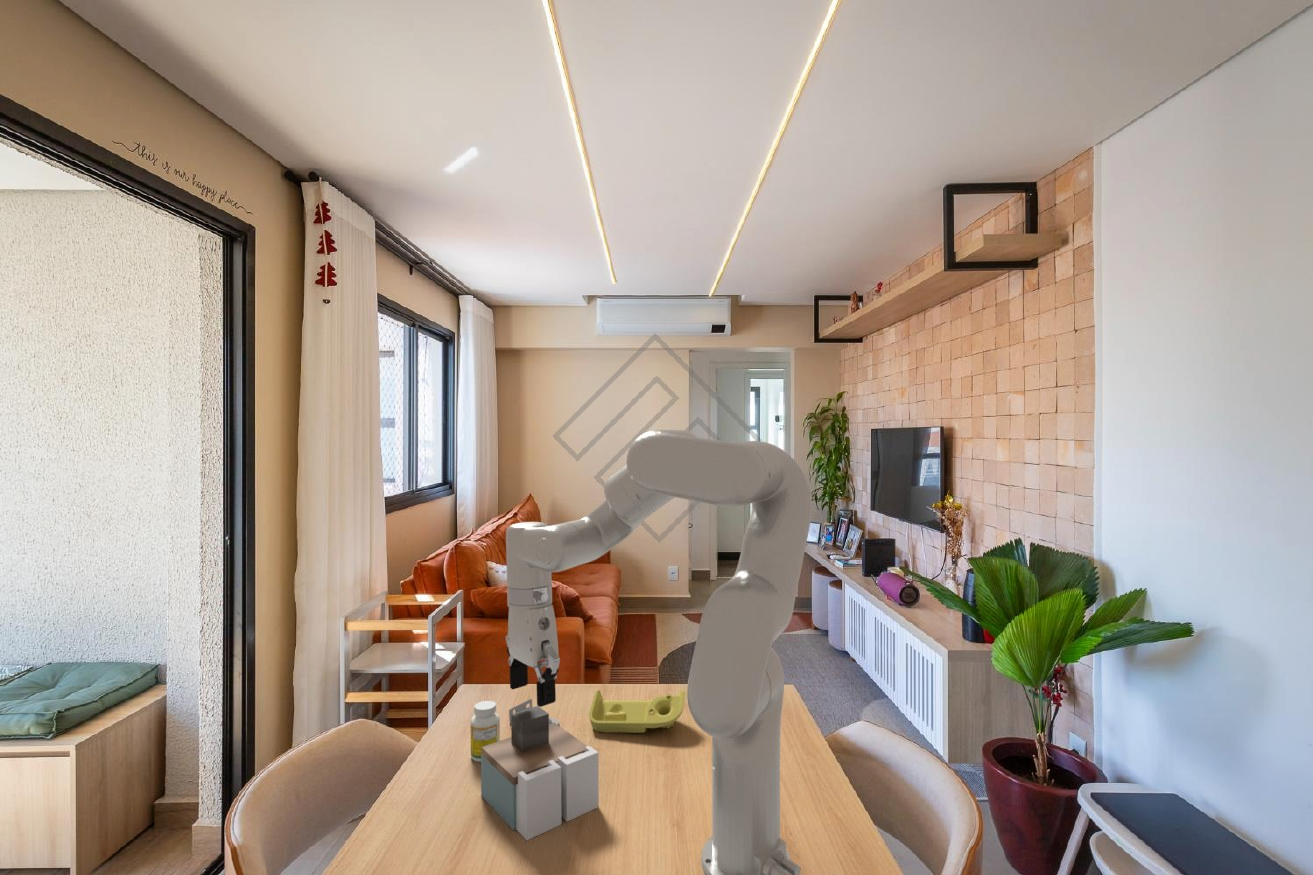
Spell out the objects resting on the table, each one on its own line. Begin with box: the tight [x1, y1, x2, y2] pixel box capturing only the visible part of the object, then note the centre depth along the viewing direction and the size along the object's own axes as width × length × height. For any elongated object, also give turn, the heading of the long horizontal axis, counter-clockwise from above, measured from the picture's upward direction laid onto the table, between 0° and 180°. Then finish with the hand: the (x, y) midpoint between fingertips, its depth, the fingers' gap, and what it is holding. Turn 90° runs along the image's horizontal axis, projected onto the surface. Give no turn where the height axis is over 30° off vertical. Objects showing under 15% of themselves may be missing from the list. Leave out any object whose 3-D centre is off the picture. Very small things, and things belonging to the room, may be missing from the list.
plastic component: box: [588, 689, 687, 734], centre depth 129 cm, size 20×7×10 cm
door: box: [482, 705, 588, 785], centre depth 103 cm, size 13×14×6 cm
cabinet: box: [480, 745, 600, 841], centre depth 102 cm, size 15×14×9 cm
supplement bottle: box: [470, 700, 501, 763], centre depth 116 cm, size 5×5×10 cm
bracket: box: [508, 698, 560, 726], centre depth 129 cm, size 7×10×4 cm, turn 57°
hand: (532, 695), depth 104 cm, fingers open, 9 cm apart
